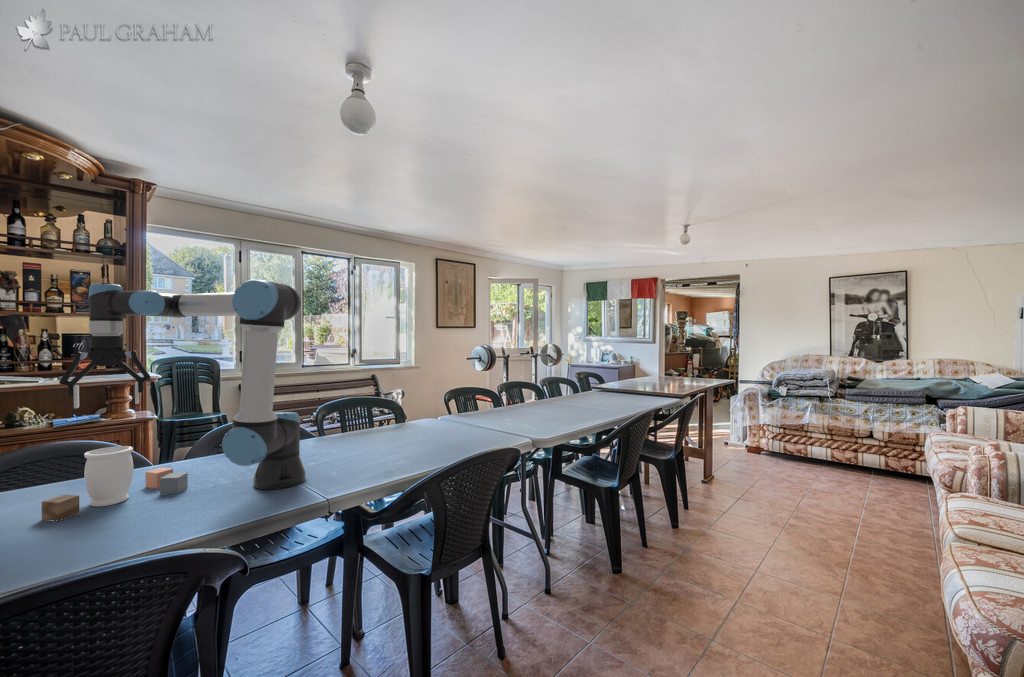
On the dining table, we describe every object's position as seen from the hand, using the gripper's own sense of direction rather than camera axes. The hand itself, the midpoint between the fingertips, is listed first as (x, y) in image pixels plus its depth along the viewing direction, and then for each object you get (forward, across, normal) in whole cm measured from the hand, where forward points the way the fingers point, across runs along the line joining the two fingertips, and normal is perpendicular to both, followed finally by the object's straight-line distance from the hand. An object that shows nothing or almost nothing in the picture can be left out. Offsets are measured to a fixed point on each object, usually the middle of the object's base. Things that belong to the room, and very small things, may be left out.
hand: (107, 405), depth 134 cm
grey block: (+27, -16, +8) cm, 33 cm away
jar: (+27, -1, +8) cm, 28 cm away
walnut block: (+27, +8, +15) cm, 32 cm away
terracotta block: (+27, -12, -1) cm, 30 cm away
